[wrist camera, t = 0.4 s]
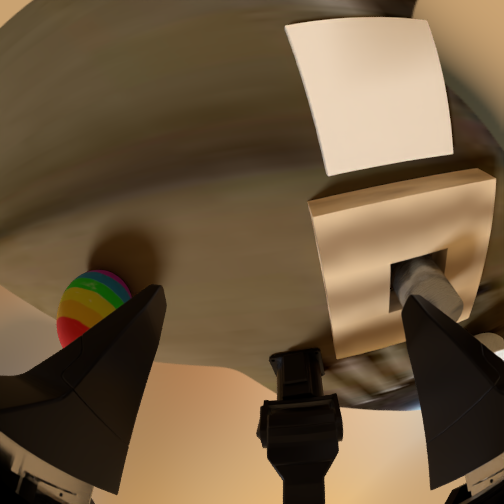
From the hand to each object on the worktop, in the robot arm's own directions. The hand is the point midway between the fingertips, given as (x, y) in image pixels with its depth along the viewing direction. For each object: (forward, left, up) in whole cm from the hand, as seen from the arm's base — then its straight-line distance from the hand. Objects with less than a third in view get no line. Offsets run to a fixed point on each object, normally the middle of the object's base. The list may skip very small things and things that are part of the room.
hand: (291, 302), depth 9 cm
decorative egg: (-6, +21, -14) cm, 26 cm away
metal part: (-11, -11, -14) cm, 21 cm away
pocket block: (-11, -11, -14) cm, 21 cm away
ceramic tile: (+5, -10, -14) cm, 18 cm away
